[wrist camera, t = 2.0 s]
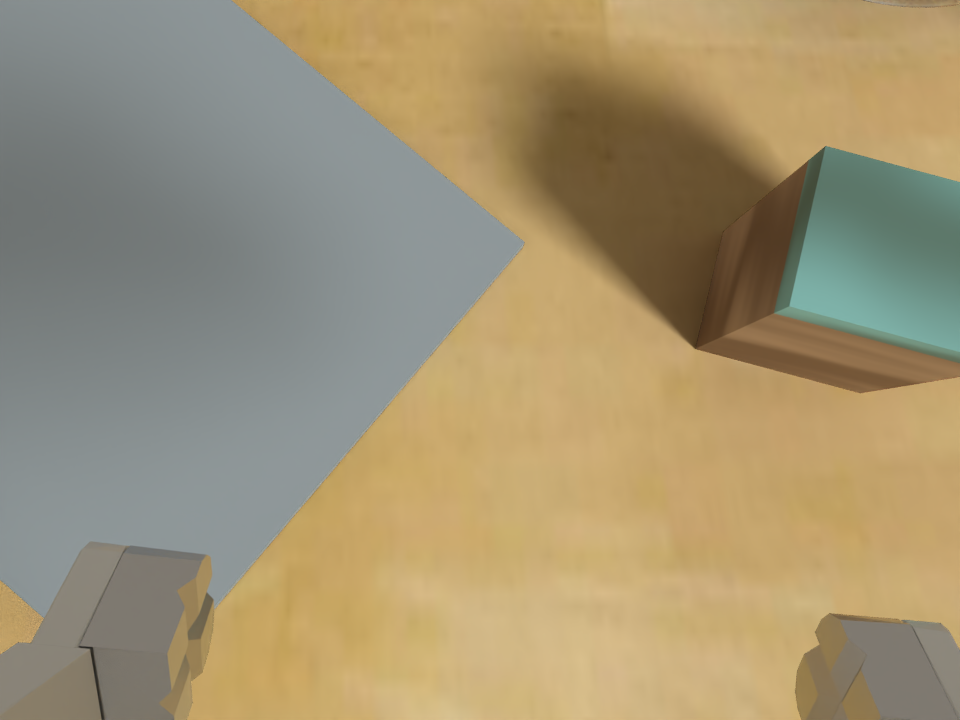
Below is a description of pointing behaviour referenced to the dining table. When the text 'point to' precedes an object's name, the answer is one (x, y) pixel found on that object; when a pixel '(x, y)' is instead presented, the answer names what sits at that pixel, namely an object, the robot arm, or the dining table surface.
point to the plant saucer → (917, 3)
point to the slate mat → (200, 281)
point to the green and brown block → (843, 277)
